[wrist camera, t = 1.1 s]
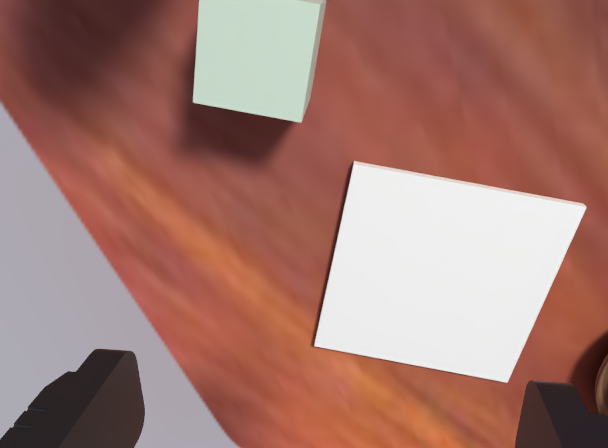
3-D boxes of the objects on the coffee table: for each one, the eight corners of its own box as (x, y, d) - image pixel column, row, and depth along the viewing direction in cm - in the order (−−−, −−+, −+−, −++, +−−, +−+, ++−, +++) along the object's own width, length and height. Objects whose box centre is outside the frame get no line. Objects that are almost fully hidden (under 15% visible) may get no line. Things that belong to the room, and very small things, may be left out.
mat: (314, 341, 35) (314, 346, 35) (353, 161, 29) (354, 163, 29) (505, 377, 35) (507, 382, 35) (582, 203, 29) (586, 207, 29)
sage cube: (219, 81, 28) (192, 102, 24) (227, -21, 26) (200, -18, 21) (310, 97, 28) (301, 122, 24) (327, -3, 26) (320, 4, 21)
